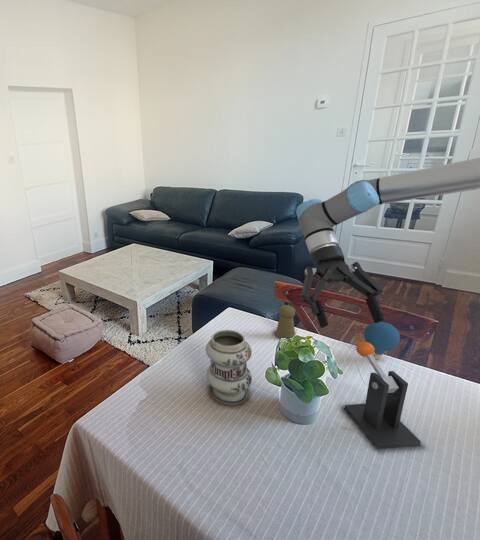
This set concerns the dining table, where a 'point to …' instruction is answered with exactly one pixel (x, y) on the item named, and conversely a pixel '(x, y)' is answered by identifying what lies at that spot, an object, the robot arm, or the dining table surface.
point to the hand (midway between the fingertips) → (351, 324)
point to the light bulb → (381, 337)
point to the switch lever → (376, 364)
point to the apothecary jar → (228, 366)
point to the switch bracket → (383, 414)
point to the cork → (286, 322)
